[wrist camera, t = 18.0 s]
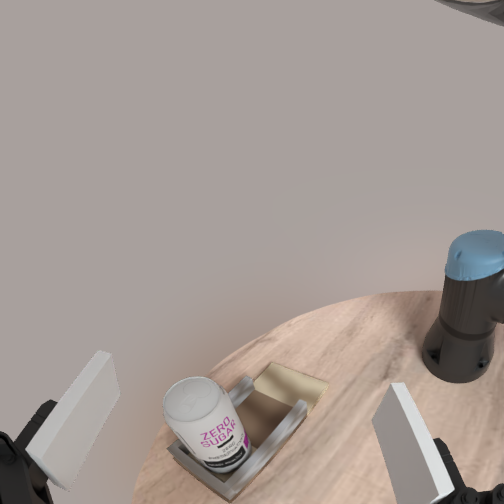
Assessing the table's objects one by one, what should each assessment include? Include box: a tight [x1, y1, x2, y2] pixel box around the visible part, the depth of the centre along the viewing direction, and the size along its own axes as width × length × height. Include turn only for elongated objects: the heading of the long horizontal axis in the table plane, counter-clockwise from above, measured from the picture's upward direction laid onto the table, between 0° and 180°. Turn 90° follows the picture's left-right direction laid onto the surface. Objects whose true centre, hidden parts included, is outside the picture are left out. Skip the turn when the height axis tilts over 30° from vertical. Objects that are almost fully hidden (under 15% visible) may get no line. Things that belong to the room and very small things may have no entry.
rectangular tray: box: [167, 362, 329, 503], centre depth 39 cm, size 26×12×4 cm, turn 141°
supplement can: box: [163, 376, 252, 474], centre depth 32 cm, size 8×8×15 cm
